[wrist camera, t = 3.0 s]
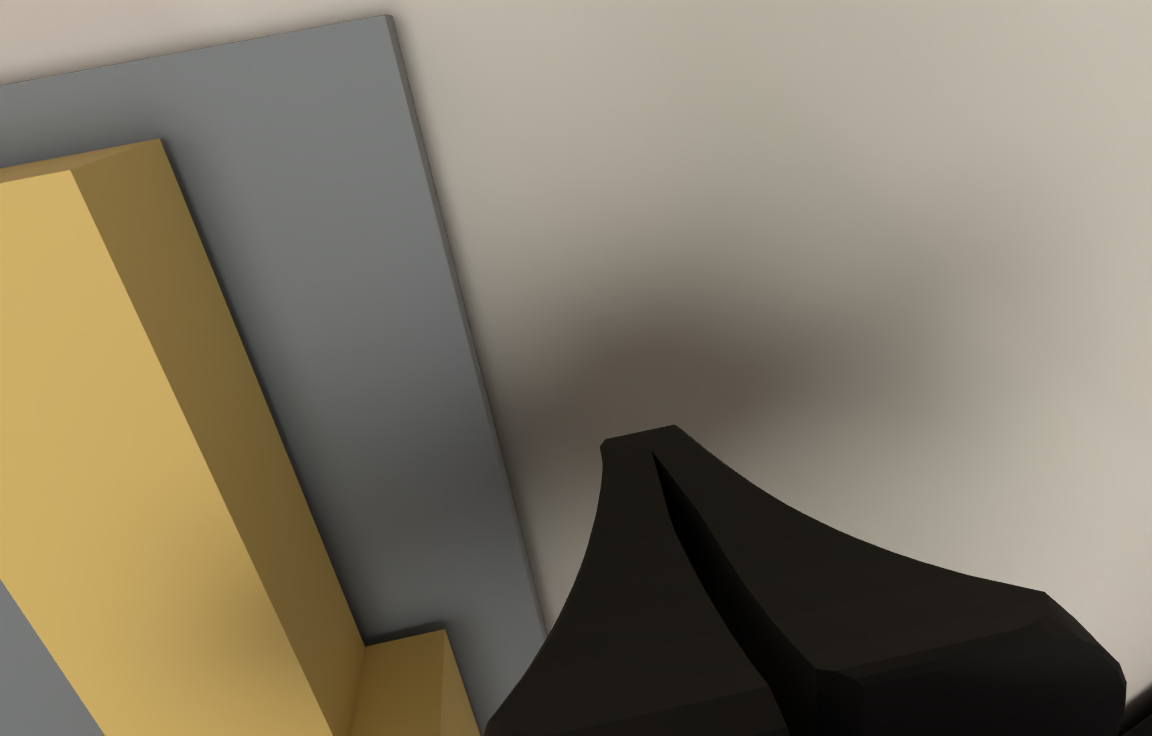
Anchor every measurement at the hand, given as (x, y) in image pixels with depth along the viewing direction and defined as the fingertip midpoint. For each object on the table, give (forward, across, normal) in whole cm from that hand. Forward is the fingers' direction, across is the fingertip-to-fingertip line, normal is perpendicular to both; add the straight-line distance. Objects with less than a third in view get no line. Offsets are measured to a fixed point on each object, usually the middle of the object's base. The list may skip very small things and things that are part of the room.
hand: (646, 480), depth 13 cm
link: (+1, +8, +1) cm, 8 cm away
